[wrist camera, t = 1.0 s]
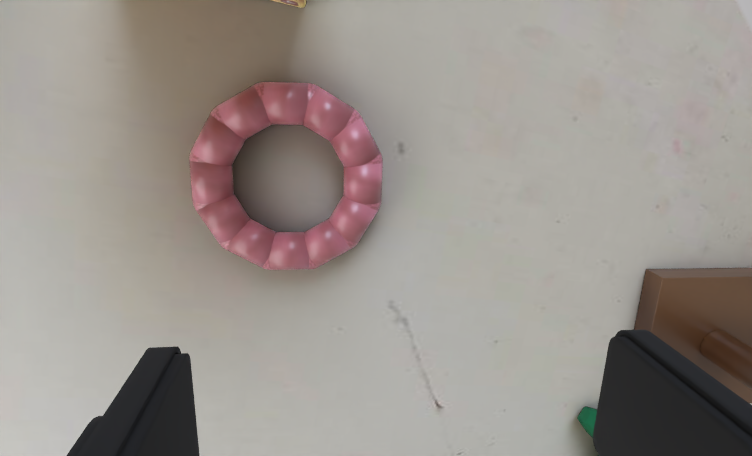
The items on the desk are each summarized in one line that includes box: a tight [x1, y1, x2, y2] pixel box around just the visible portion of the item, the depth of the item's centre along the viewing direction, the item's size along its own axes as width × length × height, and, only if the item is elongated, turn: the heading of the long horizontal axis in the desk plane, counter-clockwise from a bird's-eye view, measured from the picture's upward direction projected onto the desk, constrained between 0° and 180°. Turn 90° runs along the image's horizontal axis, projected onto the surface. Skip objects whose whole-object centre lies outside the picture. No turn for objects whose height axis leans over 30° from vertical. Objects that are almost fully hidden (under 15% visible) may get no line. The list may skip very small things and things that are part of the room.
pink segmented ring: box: [189, 82, 383, 270], centre depth 24 cm, size 10×10×2 cm
